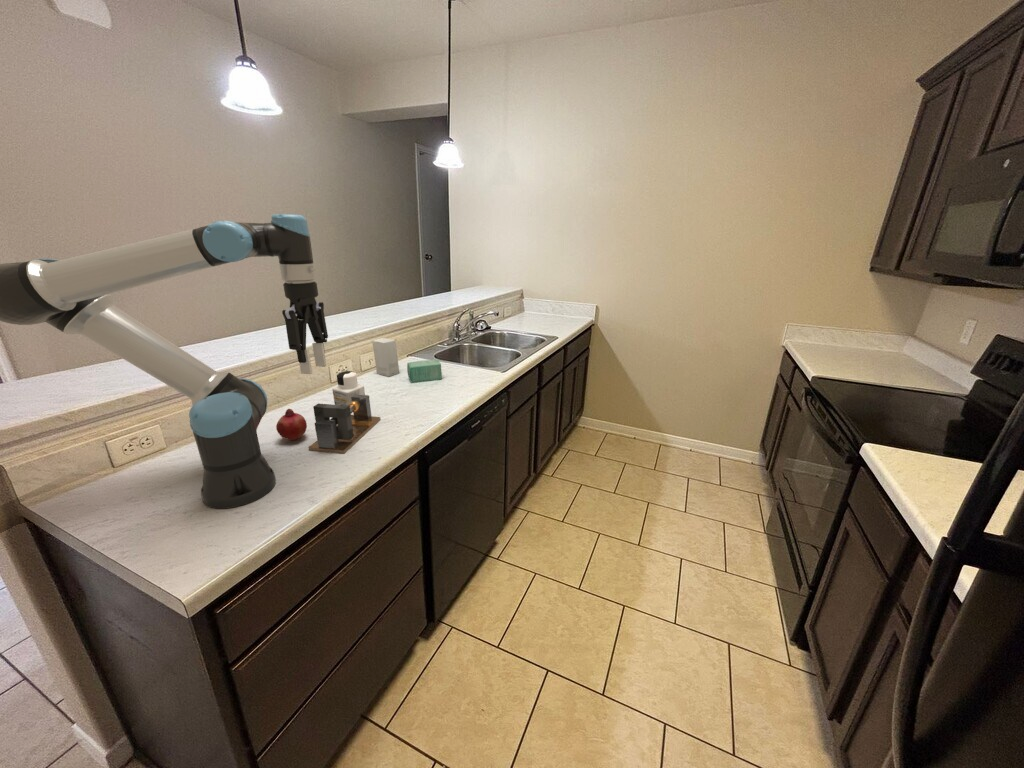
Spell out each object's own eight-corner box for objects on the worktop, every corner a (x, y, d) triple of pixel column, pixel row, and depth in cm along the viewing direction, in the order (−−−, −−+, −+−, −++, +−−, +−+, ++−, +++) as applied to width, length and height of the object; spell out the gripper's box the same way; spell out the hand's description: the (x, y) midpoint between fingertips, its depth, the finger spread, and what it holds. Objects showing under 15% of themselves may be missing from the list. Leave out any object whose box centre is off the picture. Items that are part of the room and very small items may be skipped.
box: (407, 378, 179) (406, 361, 176) (438, 374, 184) (437, 358, 181) (410, 383, 172) (409, 366, 170) (442, 380, 177) (441, 363, 175)
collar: (349, 440, 121) (345, 409, 117) (318, 437, 122) (313, 406, 119) (353, 436, 123) (349, 405, 120) (323, 433, 124) (318, 403, 121)
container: (334, 408, 147) (329, 374, 143) (351, 401, 154) (347, 368, 149) (350, 412, 144) (345, 377, 139) (366, 405, 150) (362, 371, 146)
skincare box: (399, 373, 184) (396, 339, 179) (388, 377, 179) (385, 342, 174) (386, 370, 188) (383, 337, 183) (375, 374, 183) (371, 340, 178)
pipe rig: (344, 453, 117) (340, 425, 114) (309, 450, 119) (304, 422, 116) (380, 419, 139) (377, 395, 136) (350, 417, 140) (347, 393, 137)
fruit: (315, 435, 128) (309, 405, 125) (295, 447, 121) (289, 416, 117) (293, 431, 130) (287, 402, 127) (273, 443, 123) (266, 412, 119)
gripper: (288, 286, 93) (305, 382, 101) (334, 278, 110) (345, 360, 118) (258, 285, 94) (277, 380, 102) (309, 277, 111) (321, 359, 119)
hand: (314, 369), depth 110 cm, fingers open, 6 cm apart
